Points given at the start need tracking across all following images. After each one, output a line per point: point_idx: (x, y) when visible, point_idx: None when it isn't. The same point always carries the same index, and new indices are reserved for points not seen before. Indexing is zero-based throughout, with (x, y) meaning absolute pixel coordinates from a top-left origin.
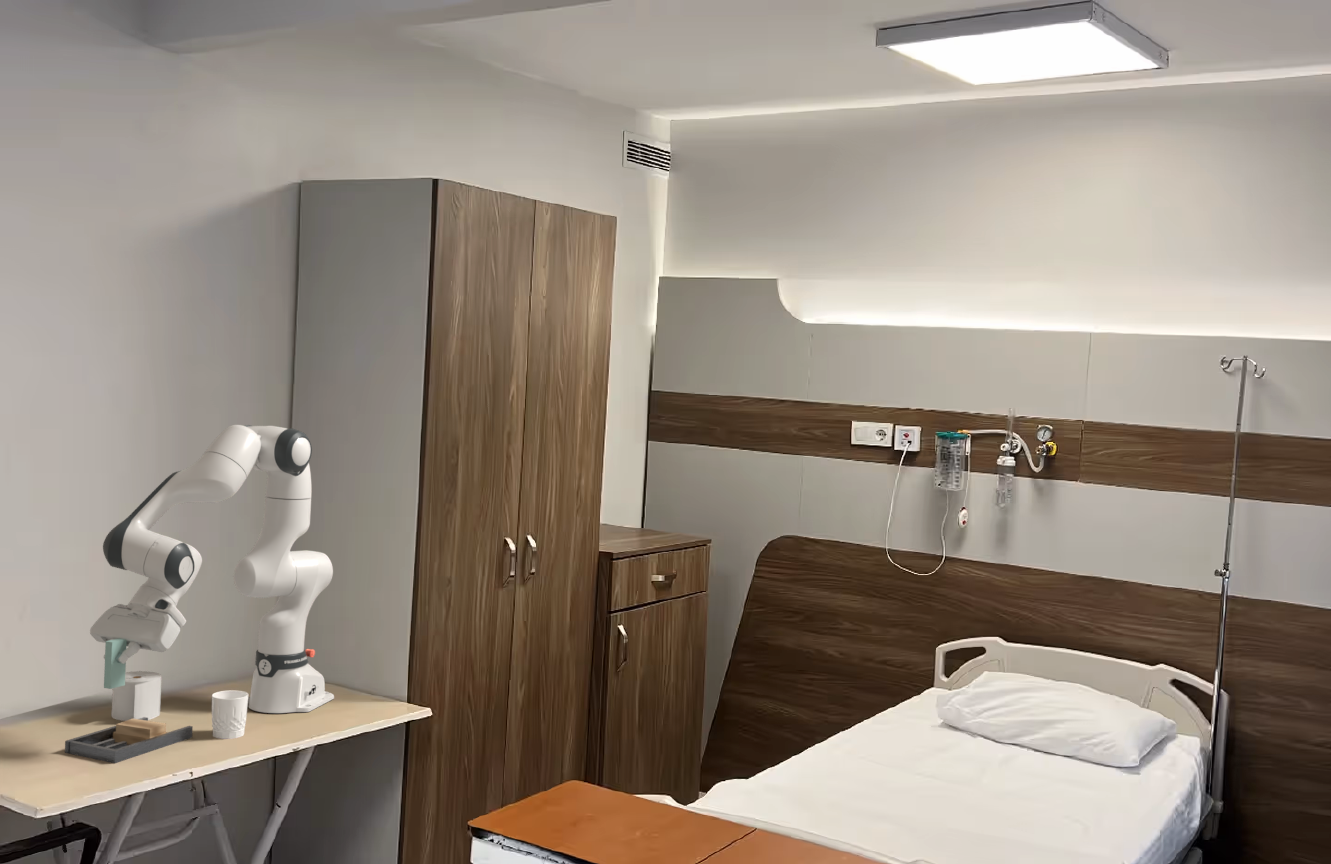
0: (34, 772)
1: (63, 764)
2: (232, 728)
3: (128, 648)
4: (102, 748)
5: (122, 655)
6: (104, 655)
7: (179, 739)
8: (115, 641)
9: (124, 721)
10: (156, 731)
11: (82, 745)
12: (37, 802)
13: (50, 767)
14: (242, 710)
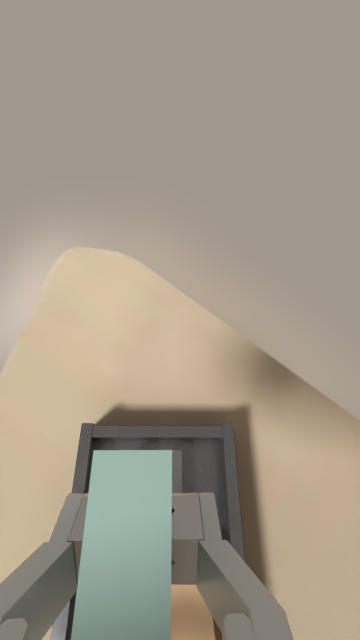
0: (191, 336)
1: (186, 390)
2: None
3: (12, 587)
4: (124, 427)
5: (58, 518)
6: (210, 496)
7: None
8: (91, 501)
9: (211, 622)
10: None
11: (183, 426)
12: (82, 255)
13: (191, 367)
14: None
